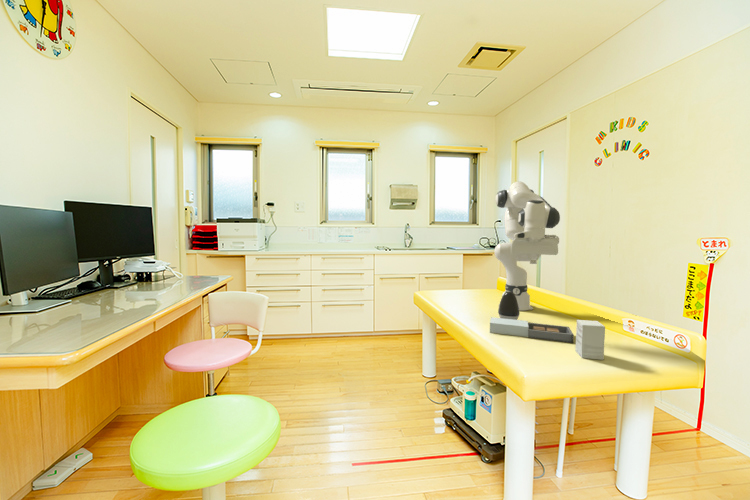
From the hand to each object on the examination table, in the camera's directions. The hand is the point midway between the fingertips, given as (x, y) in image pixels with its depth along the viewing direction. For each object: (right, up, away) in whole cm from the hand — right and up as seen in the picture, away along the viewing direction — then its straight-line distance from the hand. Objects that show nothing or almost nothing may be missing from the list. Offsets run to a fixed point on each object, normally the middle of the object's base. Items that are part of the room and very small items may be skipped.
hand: (533, 263), depth 155 cm
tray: (+2, -32, -10) cm, 33 cm away
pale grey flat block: (-13, -31, -4) cm, 34 cm away
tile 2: (+3, -29, -11) cm, 31 cm away
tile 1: (-2, -31, -9) cm, 32 cm away
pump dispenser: (-6, -30, +13) cm, 34 cm away
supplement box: (+5, -33, -32) cm, 47 cm away
